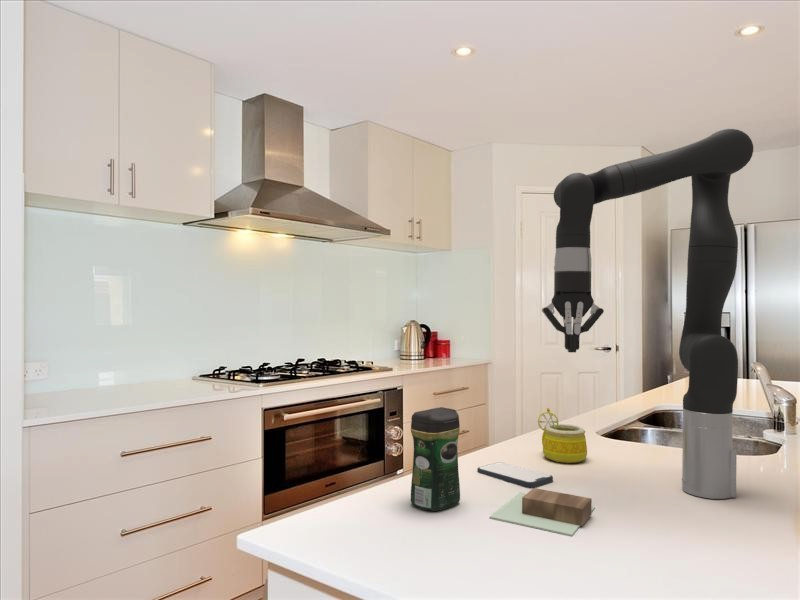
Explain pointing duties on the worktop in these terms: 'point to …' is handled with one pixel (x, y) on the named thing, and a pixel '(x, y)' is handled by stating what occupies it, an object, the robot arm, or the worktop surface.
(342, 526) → the worktop surface
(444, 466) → the coffee jar
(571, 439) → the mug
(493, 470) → the smartphone
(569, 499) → the walnut block
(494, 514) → the mat
